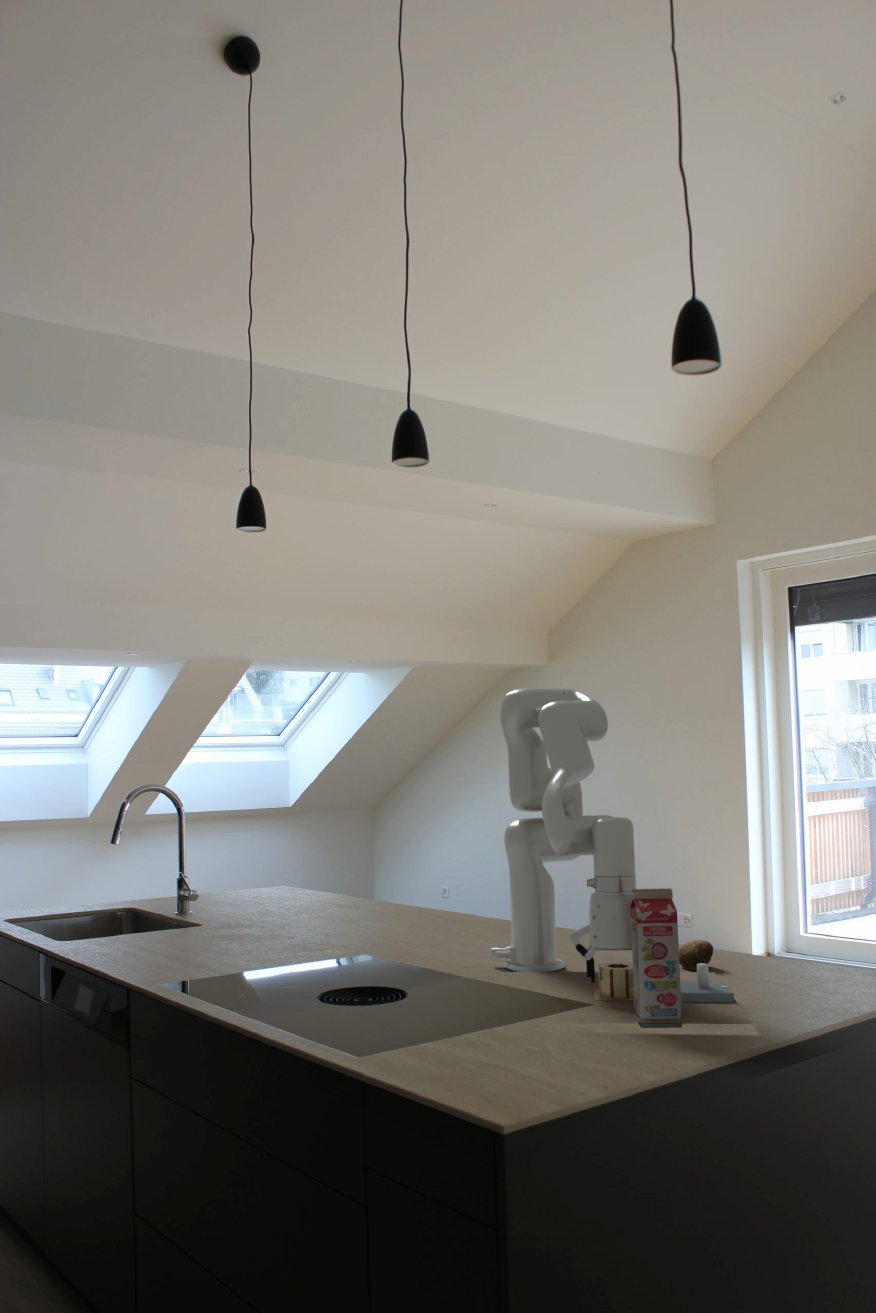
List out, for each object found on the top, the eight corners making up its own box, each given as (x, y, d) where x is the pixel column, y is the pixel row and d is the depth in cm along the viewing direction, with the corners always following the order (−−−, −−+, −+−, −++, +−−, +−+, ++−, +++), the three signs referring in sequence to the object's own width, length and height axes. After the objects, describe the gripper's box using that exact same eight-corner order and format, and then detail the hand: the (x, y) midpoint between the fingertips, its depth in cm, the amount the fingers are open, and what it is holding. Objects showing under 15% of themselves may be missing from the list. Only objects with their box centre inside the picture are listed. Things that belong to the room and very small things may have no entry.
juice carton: (634, 1017, 173) (629, 886, 175) (674, 1017, 172) (668, 886, 175) (641, 1027, 166) (636, 891, 168) (682, 1027, 166) (676, 890, 168)
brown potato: (718, 948, 217) (703, 926, 216) (725, 970, 210) (709, 947, 208) (685, 965, 219) (670, 943, 218) (690, 987, 211) (675, 964, 210)
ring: (600, 998, 181) (599, 969, 181) (598, 989, 188) (597, 962, 188) (640, 998, 180) (638, 969, 181) (636, 989, 187) (635, 962, 188)
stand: (595, 1008, 180) (594, 976, 180) (593, 996, 189) (592, 966, 189) (646, 1008, 179) (645, 976, 179) (642, 997, 188) (641, 966, 188)
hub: (681, 1010, 177) (680, 969, 178) (675, 998, 186) (674, 959, 187) (734, 1010, 176) (732, 969, 177) (725, 998, 185) (724, 959, 186)
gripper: (568, 888, 183) (572, 985, 181) (665, 886, 181) (670, 985, 179) (567, 883, 191) (571, 977, 188) (661, 882, 189) (665, 977, 187)
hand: (619, 981), depth 184 cm, fingers open, 9 cm apart
